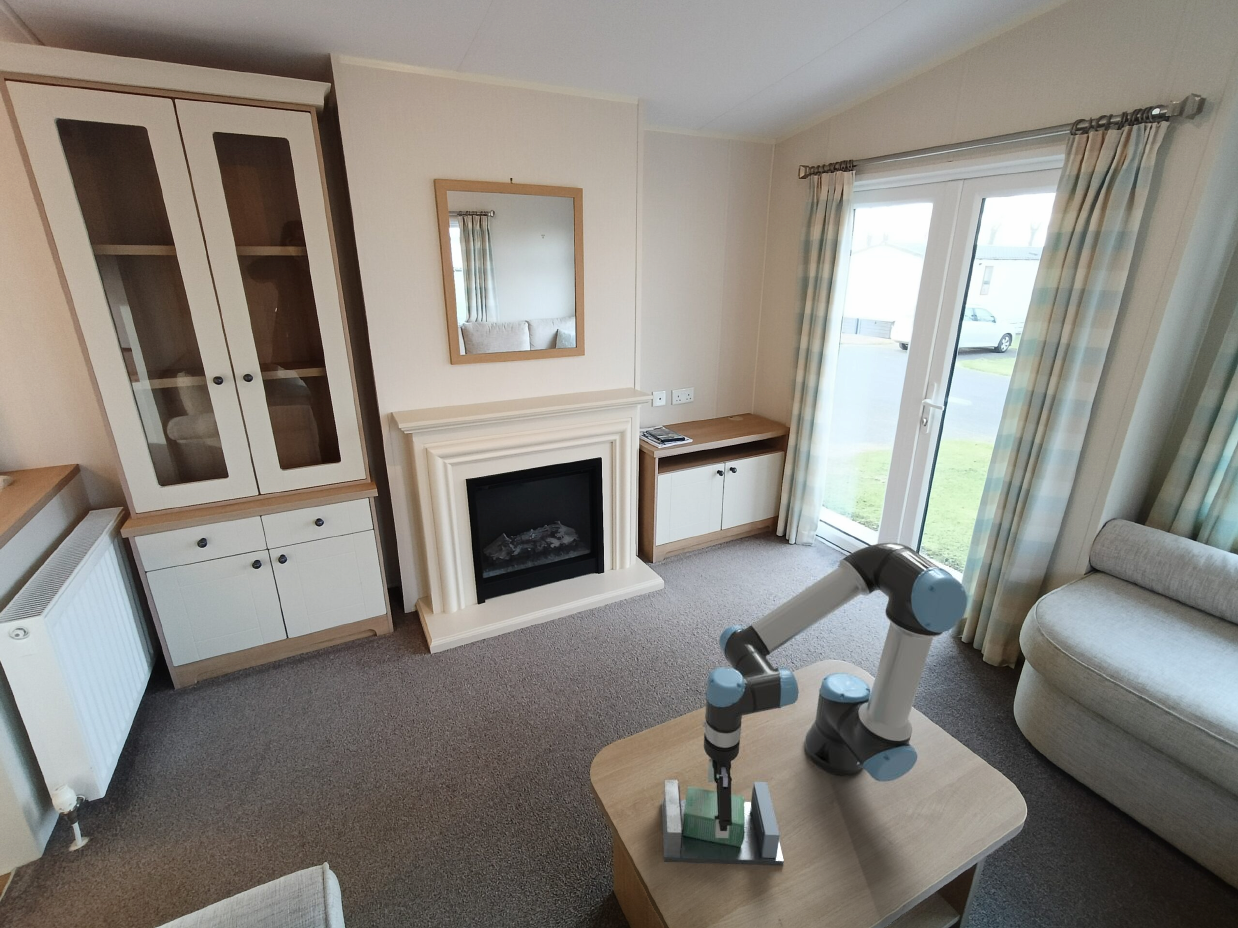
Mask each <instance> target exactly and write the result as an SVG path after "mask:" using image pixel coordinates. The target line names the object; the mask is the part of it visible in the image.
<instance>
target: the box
mask: <svg viewBox="0 0 1238 928" xmlns="http://www.w3.org/2000/svg"><path fill="white" fill-rule="evenodd" d="M685 798H686V799H685V800H686V804H685V815H684V824H683V835H684V836H688V837H693V838H697V839H702V840H707V841H712V842H717V843H722V844H728V845H733V846H738V847H741V846H742V843H743V840H744V835H745V816H744V802H745V797H744V796H742V795H737V794H732V793H731V806H732V826H729V835H728V838H716V837H715V829H716V820H715V818H714V816H716V813H718V807H717V790H716V791H715V790H709V789H704V788H701V787H695V786H688V785H687V789H686V797H685Z"/></svg>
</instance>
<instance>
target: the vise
mask: <svg viewBox="0 0 1238 928" xmlns="http://www.w3.org/2000/svg"><path fill="white" fill-rule="evenodd" d="M663 788H664V789H663V790H664V792H663V799H661V804H660V805H661V821H662V825H661V826H662V847H663V848H662V850H663V862H664V863H666V862H667V863H686V864H688V863H691V864H719V865H721V864H722V865H725V864H726V865H746V866H747V865H750V866H753V865H754V866H777V867H778V866H781V867H783V866H784V864H785V863H784V862H785V861H784V857H783V853H782V848H781V844H780V842H779V844H778V851H777V858H766V857H762V852H761V850H760V847H759V842H758V837H757V832H756V827H755V823H754V818H753V813H752V808H751V801H744V816H745V835H744V840H743V843H742V846H741V847H738V846H733V845H728V844H722V843H717V842H712V841H707V840H702V839H697V838H693V837H688V836H684V835H683V824H684V815H685V804H686V799H681V788H680V785H679V782H678V780H677V779H664V787H663Z"/></svg>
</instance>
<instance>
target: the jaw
mask: <svg viewBox="0 0 1238 928" xmlns="http://www.w3.org/2000/svg"><path fill="white" fill-rule="evenodd" d="M751 792H752V793H751V799H750V802H751V808H752V813H753V818H754V823H755V827H756V832H757V837H758V842H759V847H760V850H761V852H762V857H766V858H777V851H778V844H779V843H780V836H781V835H780V830H779V826H778V823H777V822H778V821H777V818H776V814H775V811H774V805H773V801H772V798H771V794H770V790H769V786H768V783H767V781H753V787H752V791H751Z"/></svg>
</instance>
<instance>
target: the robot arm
mask: <svg viewBox="0 0 1238 928" xmlns="http://www.w3.org/2000/svg"><path fill="white" fill-rule="evenodd" d="M877 591H880V592H882V593H883V595H885V596H887V598H888V601H887V604H886V608H885V611H884V613H885V616H886V618H887V620H888V621H889V622H890V623H889V627H888V630H887V633H886V636H885V641H884V645H883V648H882V651H881V654H880V655H881V656H880V658H879V663H878V667H877V669H876V673H875V678H874V681H873V685H872V688H871V687H870V686H869V684H868V683H867V682H866V681H864V680H863V679H862V678H860V677H858V676H857V675H853V674H849V673H846V672H845V673H844V672H834V673H830V674H828V675H826V676H825V677H824V678H823V679H822V682H821V685H820V688H819V690H818V692H819V693H818V701H817V707H816V714H815V720H814V721H813V723H812V724H811V727H809V729H808V730H807V732H806V734H805V740H804V749H805V752H806V755H807V756H808V758H809V760H810V761H812V763H813V764H815V766H817V767H819V768H820V769H822V770H824V771H825V772H827V773H830V774H833V775H836V776H853V775H855V774H857V773H859V772H860V771H861V770H862V769H863V770H865V771H866V772H867V774H869V776H870V777H871V778H872V779H874V780H876V781H878V782H882V783H883V782H893V781H895V780H898V779H900V778H902V777H903V776H905V775H906V774H908V773H909V772H910V771H911V770H912V768H914V766H915V765H916V763H917V761H918V753H917V751H916V749H915V748H914V746H912V745H911V744H910V741H911V737H912V734H913V726H912V723H911V722H910V720H909V718H910V714H911V711H912V707H913V705H914V701H915V699H916V695H917V691H918V688H919V685H920V681H921V678H922V676H923V672H924V669H925V664H926V662H927V659H928V656H929V652H930V649H931V647H932V643H933V639H934V638H935V637H939V636H942V634H944V632H948V631H949V630H950V631H951V629H953V628H955V627H956V626H957V621H961V620H962V619H963V617H964V614H965V613H966V609H967V605H968V598H967V597H968V596H967V592H966V590H965V587H964V585H963V584H962V583H961V582H960V581H959V580H958V579H957V578H956V577H954V576H953V575H952V573H950V572H949V571H947V570H946V569H944V568H942V567H939V566H938V565H936V564H935V563H934V562H931V560H929V559H927V558H926V557H925V556H923V555H921V554H920V553H918V552H917V551H916V550H914V549H913V548H911V547H910V546H908V545H905V544H902V543H898V542H881V543H875V544H871V545H868V546H865V547H863V548H860V549H857V550H855V551H853V552H851V553H850V554H848V555H846V556H844V557H843V558H842V559H840V561H839V564H838V566H837V567H836V568H835V569H833V570H832V571H831V572H829V573H828V574H826V575H824V576H823V577H821V578H819V580H817V581H815V582H814V583H813V584H811V585H809V586H807V588H805V589H804V590H802V591H800V592H798V593H797V594H796V595H794V596H793V597H791V598H789V599H788V600H787V601H785V602H783V603H782V604H781V605H779V606H777V607H776V608H775V609H772V611H770V612H768V613H767V614H765V615H764V616H763V617H761V618H759V619H758V620H757V621H754V622H753V623H752V624H750V625H749V626H747V627H746V628H744V627H743V626H741V625H738V624H736V625H733V626H732V625H730V626H728V627H726V628H725V629H723V631H722V633H721V634H720V636H719V639H718V642H719V643H718V644H719V648H720V650H721V652H722V653H723V655H724V658H725V660H726V661H728V662H729V664H730V666H731V667H729V668H727V667H725V666H720V667H717V668H714V669H713V670H712V671H711V672H710V673H709V674H708V677H707V681H706V688H705V714H704V715H705V716H704V717H705V720H704V721H702V724H701V726H702V727H703V728H704V735H703V750H704V752H705V753H706V755H707V756H708V757H709V758H708V770H707V771H708V772H707V782H708V783H715V784H716V792H717V807H718V813H716V816H714V818H715V820H716V829H715V837H716V838H728V835H729V826H732V806H731V794H732V782H733V779H732V776H731V769H732V761H734V760H736V759H737V757H738V755H739V753H740V752H739V751H740V743H741V742H740V741H741V735H742V733H741V732H742V720H743V719H742V718H743V716H747V715H751V714H756V713H761V712H765V711H771V710H776V709H781V708H783V707H786V706H790V705H793V704H795V703H796V702H797V701H798V700H799V699H798V698H799V693H800V692H799V691H800V690H799V685H798V682H797V679H796V677H795V675H794V673H793V671H791V670H790V669H789V668H787V667H776V668H775V667H774V665H773V664H772V663H771V662H770V661H769V660H768V658H767V657H768V656H769V655H771V654H772V653H773V652H775V651H776V650H778V649H779V648H781V647H783V646H784V645H786V644H788V643H789V642H790V641H792V640H793V639H795V638H797V636H800V635H801V634H802V633H804V632H805V631H807V630H808V629H810V628H811V627H813V626H815V625H816V624H817V623H819V622H821V621H823V620H824V619H825V618H827V617H828V616H830V615H831V614H833V613H834V612H836V611H837V610H839V609H841V608H843V607H844V606H845V605H847V604H848V603H849V602H851V601H853V600H854V599H855V598H857V597H859V596H865V597H866V596H869V595H871V594H872V593H874V592H877Z"/></svg>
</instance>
